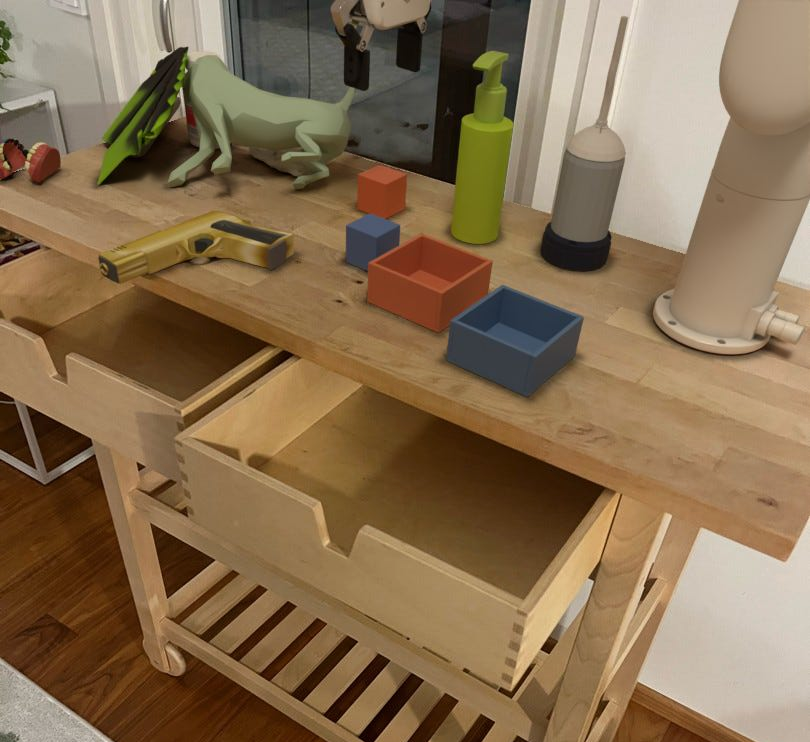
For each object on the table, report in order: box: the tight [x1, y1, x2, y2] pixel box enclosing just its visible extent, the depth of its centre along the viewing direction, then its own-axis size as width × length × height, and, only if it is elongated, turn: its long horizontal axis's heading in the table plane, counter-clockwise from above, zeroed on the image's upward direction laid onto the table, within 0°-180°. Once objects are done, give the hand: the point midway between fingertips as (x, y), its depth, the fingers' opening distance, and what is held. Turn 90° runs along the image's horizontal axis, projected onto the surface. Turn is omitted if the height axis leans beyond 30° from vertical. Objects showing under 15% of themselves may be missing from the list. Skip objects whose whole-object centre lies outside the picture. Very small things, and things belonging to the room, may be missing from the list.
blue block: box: [345, 213, 401, 272], centre depth 94 cm, size 4×4×4 cm
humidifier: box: [539, 15, 629, 272], centre depth 91 cm, size 8×8×25 cm
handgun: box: [97, 210, 295, 285], centre depth 92 cm, size 2×19×12 cm
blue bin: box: [445, 284, 585, 398], centre depth 82 cm, size 10×10×4 cm
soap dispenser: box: [450, 50, 514, 245], centre depth 95 cm, size 6×7×20 cm
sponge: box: [248, 147, 324, 178], centre depth 114 cm, size 12×5×4 cm
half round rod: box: [129, 96, 182, 158], centre depth 119 cm, size 4×20×2 cm, turn 179°
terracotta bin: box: [366, 233, 494, 334], centre depth 89 cm, size 10×10×4 cm
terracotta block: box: [356, 164, 408, 219], centre depth 105 cm, size 4×4×4 cm
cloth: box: [97, 46, 189, 186], centre depth 109 cm, size 20×22×2 cm
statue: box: [167, 55, 357, 190], centre depth 109 cm, size 27×13×20 cm
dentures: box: [0, 137, 62, 183], centre depth 106 cm, size 6×4×8 cm
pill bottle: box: [181, 50, 232, 150], centre depth 114 cm, size 6×6×11 cm
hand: (382, 78), depth 95 cm, fingers open, 9 cm apart
